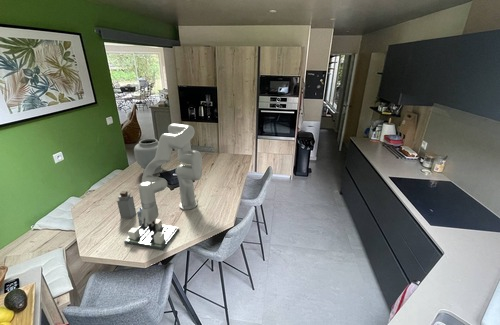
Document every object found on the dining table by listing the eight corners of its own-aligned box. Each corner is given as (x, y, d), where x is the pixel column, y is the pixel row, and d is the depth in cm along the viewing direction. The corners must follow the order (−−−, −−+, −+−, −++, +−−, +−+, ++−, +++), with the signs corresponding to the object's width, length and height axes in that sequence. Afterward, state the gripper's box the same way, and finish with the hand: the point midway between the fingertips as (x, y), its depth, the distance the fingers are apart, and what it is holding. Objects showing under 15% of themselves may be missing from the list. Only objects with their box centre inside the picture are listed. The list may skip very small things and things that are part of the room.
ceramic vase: (171, 172, 224) (167, 142, 213) (141, 179, 210) (135, 147, 199) (163, 163, 244) (159, 135, 233) (135, 169, 230) (129, 139, 219)
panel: (144, 224, 151) (143, 220, 150) (179, 230, 146) (178, 226, 145) (124, 243, 134) (123, 239, 133) (163, 250, 130) (162, 246, 129)
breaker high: (158, 238, 135) (157, 231, 134) (165, 239, 135) (164, 232, 133) (154, 243, 132) (153, 236, 130) (161, 244, 131) (160, 237, 129)
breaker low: (134, 234, 139) (132, 227, 137) (140, 235, 138) (138, 228, 136) (129, 238, 135) (127, 231, 133) (135, 240, 134) (134, 232, 132)
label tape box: (150, 216, 159) (147, 200, 154) (154, 218, 157) (151, 202, 152) (138, 223, 152) (135, 206, 147) (143, 225, 150) (139, 208, 145)
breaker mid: (156, 225, 146) (155, 218, 144) (162, 226, 146) (161, 219, 144) (152, 229, 143) (151, 222, 141) (158, 230, 142) (157, 223, 140)
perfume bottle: (126, 212, 162) (121, 189, 156) (136, 213, 162) (131, 189, 156) (121, 218, 156) (115, 194, 149) (131, 218, 156) (126, 194, 149)
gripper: (150, 196, 141) (154, 222, 147) (133, 209, 127) (138, 237, 133) (162, 197, 139) (165, 224, 146) (146, 211, 125) (150, 239, 132)
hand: (152, 230), depth 139 cm, fingers closed
